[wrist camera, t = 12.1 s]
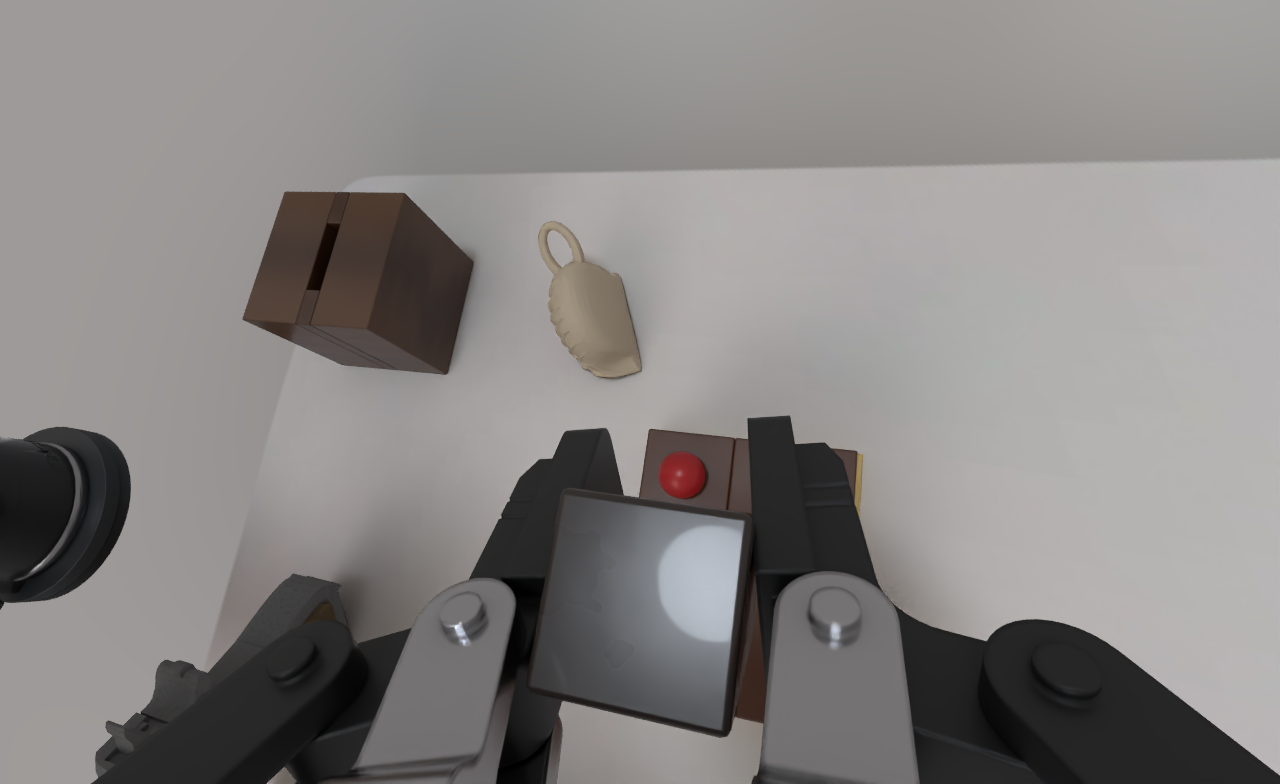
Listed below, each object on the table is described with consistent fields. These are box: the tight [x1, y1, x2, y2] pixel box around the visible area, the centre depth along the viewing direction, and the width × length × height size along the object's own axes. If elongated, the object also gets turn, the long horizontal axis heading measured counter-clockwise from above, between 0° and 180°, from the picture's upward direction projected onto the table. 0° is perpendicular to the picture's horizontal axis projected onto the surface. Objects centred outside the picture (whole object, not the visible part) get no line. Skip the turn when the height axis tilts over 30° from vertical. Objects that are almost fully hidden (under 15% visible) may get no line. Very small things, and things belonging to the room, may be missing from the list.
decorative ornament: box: [538, 221, 642, 378], centre depth 34 cm, size 4×8×5 cm, turn 11°
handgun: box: [95, 574, 348, 778], centre depth 30 cm, size 3×18×12 cm
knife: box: [526, 488, 757, 738], centre depth 14 cm, size 3×2×17 cm
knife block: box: [243, 192, 473, 374], centre depth 36 cm, size 8×8×8 cm
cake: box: [639, 429, 863, 724], centre depth 27 cm, size 13×11×9 cm
